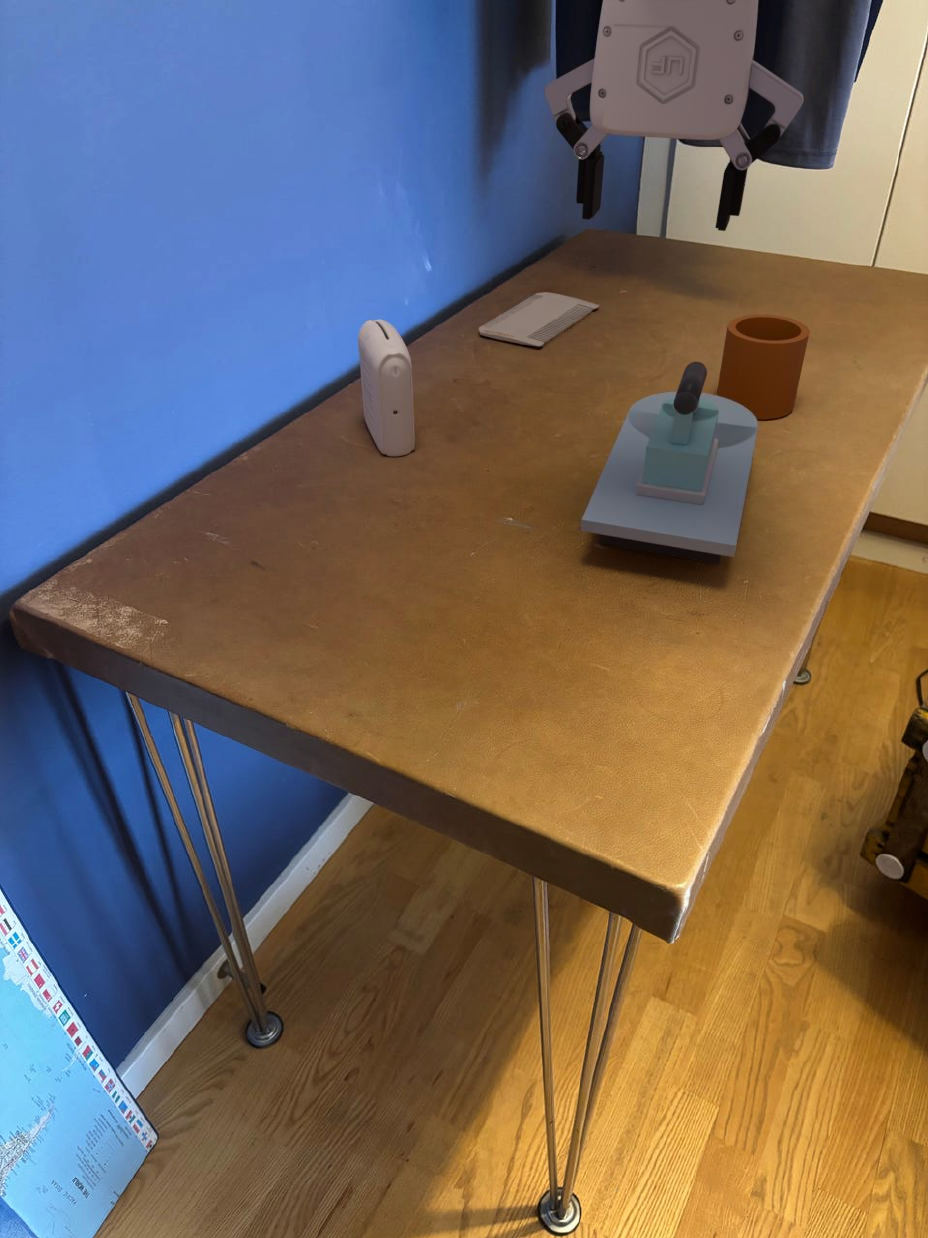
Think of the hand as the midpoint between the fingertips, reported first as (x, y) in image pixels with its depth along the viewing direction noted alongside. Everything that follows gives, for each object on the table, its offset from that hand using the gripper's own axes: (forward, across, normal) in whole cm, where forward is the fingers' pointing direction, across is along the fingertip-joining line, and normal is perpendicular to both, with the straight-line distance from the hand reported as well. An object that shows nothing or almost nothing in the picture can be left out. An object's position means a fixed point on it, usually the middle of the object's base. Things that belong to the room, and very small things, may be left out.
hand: (655, 219), depth 67 cm
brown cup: (+28, +10, +35) cm, 46 cm away
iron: (+23, +4, +6) cm, 24 cm away
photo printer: (+28, -28, +13) cm, 42 cm away
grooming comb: (+28, -21, +51) cm, 62 cm away
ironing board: (+28, +4, +9) cm, 30 cm away
